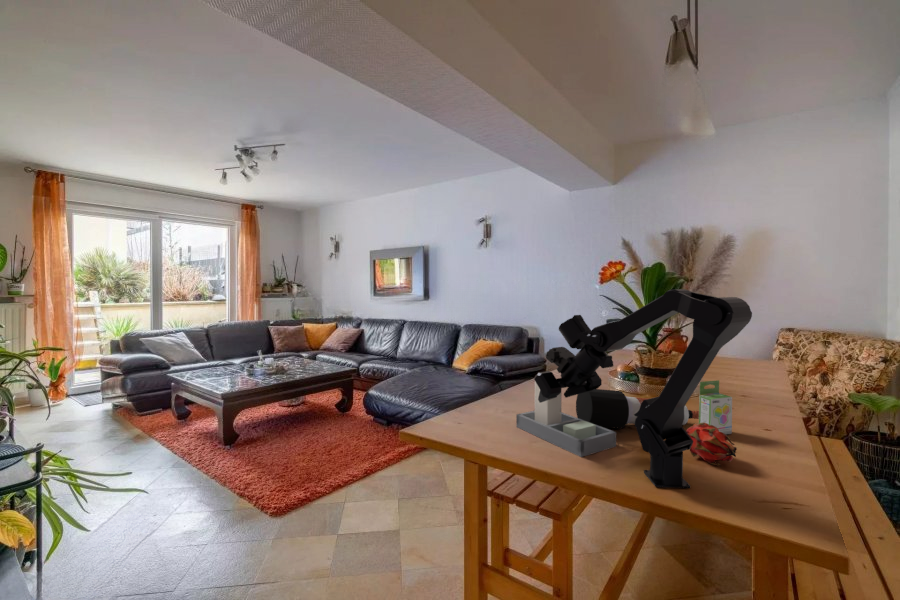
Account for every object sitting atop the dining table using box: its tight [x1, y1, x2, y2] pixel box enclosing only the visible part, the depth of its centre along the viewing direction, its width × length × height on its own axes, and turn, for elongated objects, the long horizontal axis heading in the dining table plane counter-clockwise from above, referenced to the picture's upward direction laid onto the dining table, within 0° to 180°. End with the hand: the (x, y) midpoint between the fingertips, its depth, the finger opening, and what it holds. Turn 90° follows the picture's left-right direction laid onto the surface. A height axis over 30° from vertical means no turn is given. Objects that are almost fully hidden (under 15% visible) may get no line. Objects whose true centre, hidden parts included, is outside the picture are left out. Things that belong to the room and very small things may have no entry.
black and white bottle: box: [575, 388, 699, 429], centre depth 113 cm, size 10×34×10 cm, turn 96°
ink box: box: [698, 379, 733, 435], centre depth 106 cm, size 7×4×13 cm, turn 105°
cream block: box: [534, 380, 563, 425], centre depth 110 cm, size 5×5×12 cm
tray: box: [515, 410, 617, 458], centre depth 105 cm, size 23×12×4 cm, turn 30°
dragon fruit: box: [685, 422, 738, 466], centre depth 90 cm, size 8×8×12 cm
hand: (552, 398), depth 108 cm, fingers open, 9 cm apart
